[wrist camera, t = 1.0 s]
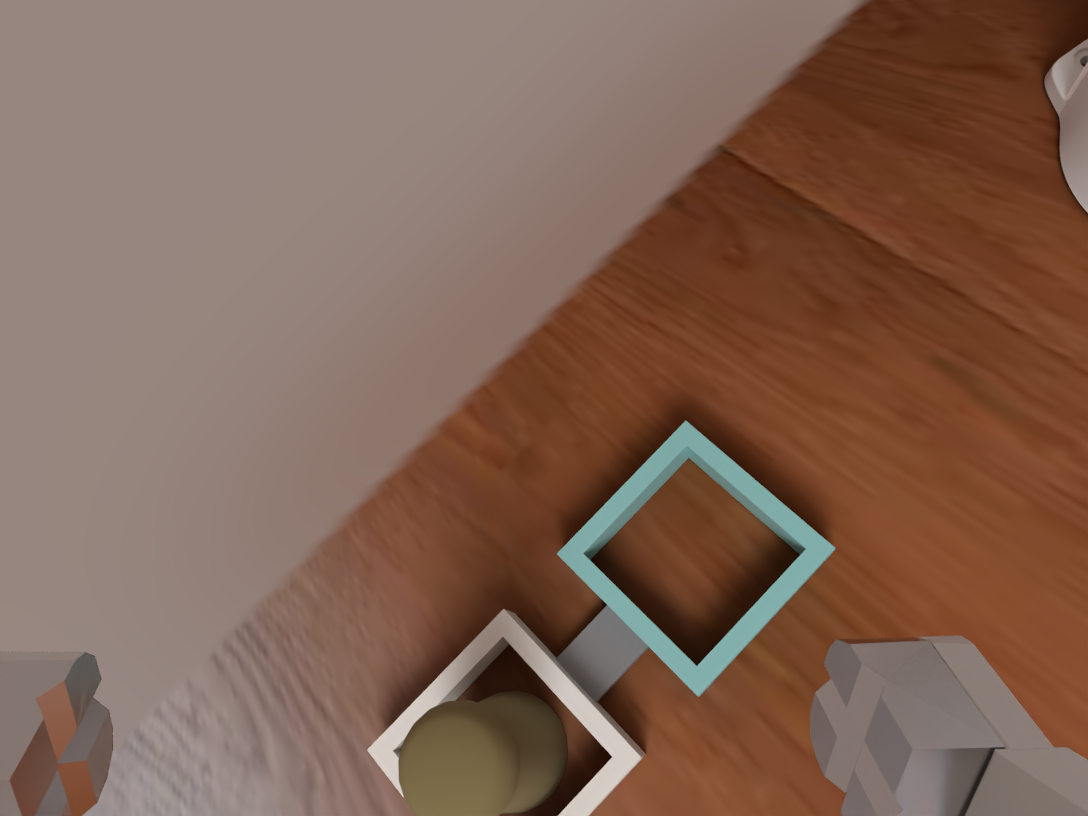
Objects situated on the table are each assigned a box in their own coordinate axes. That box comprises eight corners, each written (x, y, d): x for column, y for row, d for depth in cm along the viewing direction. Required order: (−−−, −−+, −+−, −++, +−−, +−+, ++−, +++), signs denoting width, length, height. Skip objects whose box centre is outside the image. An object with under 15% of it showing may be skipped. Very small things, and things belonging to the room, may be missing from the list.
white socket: (565, 560, 46) (556, 553, 44) (699, 696, 43) (698, 696, 40) (385, 747, 45) (366, 750, 43) (508, 903, 42) (495, 915, 39)
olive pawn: (437, 730, 45) (352, 740, 35) (530, 667, 45) (472, 660, 35) (492, 837, 43) (419, 883, 32) (590, 771, 43) (548, 796, 33)
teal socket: (687, 433, 47) (685, 420, 45) (829, 555, 44) (835, 548, 41) (565, 560, 46) (556, 553, 44) (699, 696, 43) (698, 696, 40)
